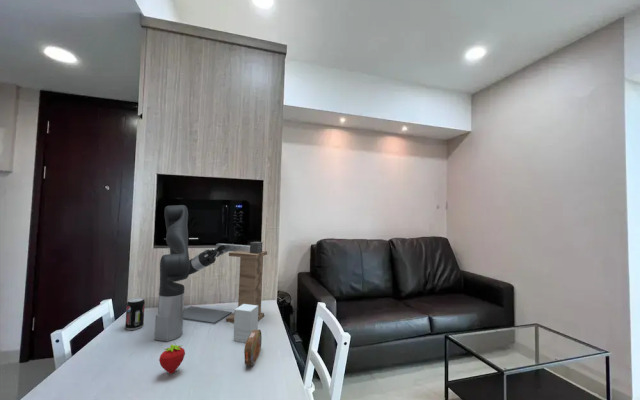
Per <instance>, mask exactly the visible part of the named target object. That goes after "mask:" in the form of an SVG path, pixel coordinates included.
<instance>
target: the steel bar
mask: <svg viewBox="0 0 640 400" xmlns="http://www.w3.org/2000/svg"><path fill="white" fill-rule="evenodd" d="M222 245H225V247H226V249H224V250H222V251H228V252H245V253H254V254H258V253H262V251H263V241H253V242H252V241H251V242H250V243H249V245H246V244H244V245H243V244H234V243H233V244H231V243H216V244H215V248H218V247H220V246H222Z"/></svg>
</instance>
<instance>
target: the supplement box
mask: <svg viewBox="0 0 640 400" xmlns="http://www.w3.org/2000/svg"><path fill="white" fill-rule="evenodd" d="M233 313H234V323H233V341H234V342H235V341H236V342H241V343H246V341H247V339H248V337H249V336H250V334H251V332H252V331H253V330H259V329H258V328H259V321H258V305H249V304H242V305H241V306H239V307H238V306H237V307H236V308H234V312H233Z"/></svg>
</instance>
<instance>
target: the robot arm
mask: <svg viewBox="0 0 640 400" xmlns="http://www.w3.org/2000/svg"><path fill="white" fill-rule="evenodd" d="M188 220H189V210H188V208H187V206H186V205H184V204H179V205H167V206H165V208H164V221H165V228H166V235H165V236H166V237H165V242H166V245H167V246H168V247H169V254H163V255H161V258H160V261H159V289H158V290H159V293H158V307H157V314H156V315H155V321H154V323H155V324H154V325H155V326H154V339H153V340H155V341H160V342H161V341H162V342H169V341H174V340H177V339H178V338H180V337H182V335H183V327H184V326H183V323H184V321H183V320H184V319H183V310H184V304H185V303H184V302H185V286H184V285H183V283H178V282H180V281H184V280H187V279H188V278H189V276H190V275H193V274H195V273H197V272H199V271H200V270H203V269H205V268H207V267H209V266H211V265H212V264H214V263H215V262H216V258H219V257H220V256H222V255H224V254H227V252H229V251H222V250H224V249H226V247H225V245H222V246H220V247H218V248H216V247H215V248H213V249H206V250H204V251H202V252H201V253H199V254H197V255H195V256H194V257H192V258H191V259H190V253H189V229H188ZM230 244H234V242H231V243H230Z"/></svg>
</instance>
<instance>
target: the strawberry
mask: <svg viewBox="0 0 640 400" xmlns="http://www.w3.org/2000/svg"><path fill="white" fill-rule="evenodd" d="M172 342H173V343H174V344H173V343H172V344H170V347H167V348H163V350H164V351H163V352H162V353H161V354H160V356H159V359H158V361H159V364H160V367H162V369H163V370H164V371H166V372H167V373H168V374H170V375H172V374H174V373H175V372H176V371H177V369H179V367H180V365H181V364H182V362H183V361H184V358H185V355H186V351H185V349H184V348H183V345H181V344H180V345H178V344H176V343H175V341H174V340H172Z"/></svg>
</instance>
